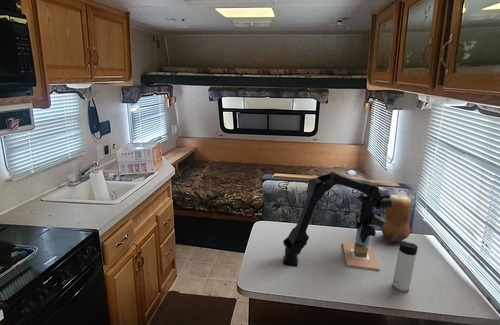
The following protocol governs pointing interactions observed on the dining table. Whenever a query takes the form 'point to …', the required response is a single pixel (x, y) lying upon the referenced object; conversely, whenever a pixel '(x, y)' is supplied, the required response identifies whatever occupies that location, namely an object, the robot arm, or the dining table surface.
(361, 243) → the teal block
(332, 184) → the robot arm
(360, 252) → the walnut block
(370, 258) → the baseplate
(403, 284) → the travel mug
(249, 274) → the dining table surface
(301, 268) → the dining table surface
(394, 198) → the butternut squash
